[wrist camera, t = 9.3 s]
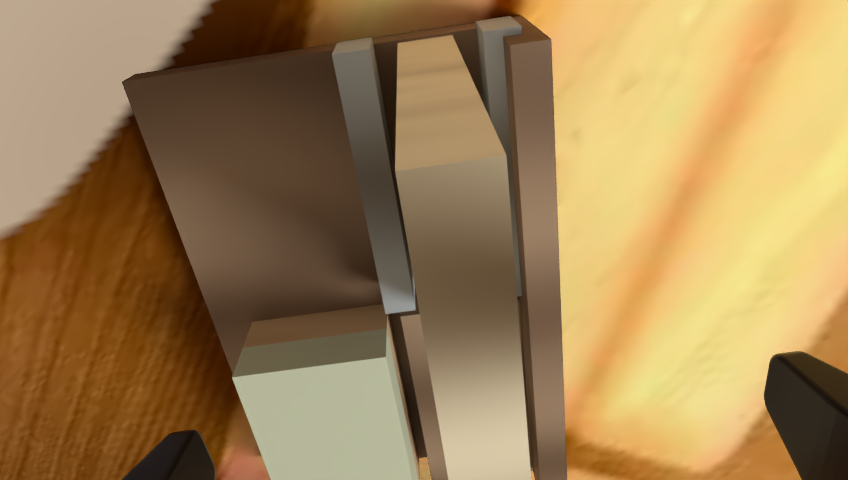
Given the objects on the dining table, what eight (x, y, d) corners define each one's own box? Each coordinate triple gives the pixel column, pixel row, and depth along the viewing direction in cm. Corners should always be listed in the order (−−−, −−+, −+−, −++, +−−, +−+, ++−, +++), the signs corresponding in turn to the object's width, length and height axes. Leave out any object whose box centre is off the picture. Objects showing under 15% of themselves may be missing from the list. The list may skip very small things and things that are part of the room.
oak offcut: (419, 457, 25) (420, 487, 24) (303, 472, 26) (298, 502, 24) (387, 303, 22) (386, 328, 20) (252, 321, 22) (242, 347, 20)
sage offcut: (420, 487, 24) (421, 520, 23) (298, 502, 24) (292, 535, 23) (386, 328, 20) (385, 356, 19) (242, 347, 20) (231, 377, 19)
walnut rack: (545, 426, 26) (567, 505, 23) (276, 461, 27) (257, 543, 23) (521, 8, 18) (551, 30, 14) (132, 67, 18) (69, 103, 15)
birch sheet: (478, 269, 21) (534, 520, 12) (433, 275, 21) (457, 529, 12) (452, 34, 17) (506, 155, 8) (397, 43, 17) (395, 170, 9)
